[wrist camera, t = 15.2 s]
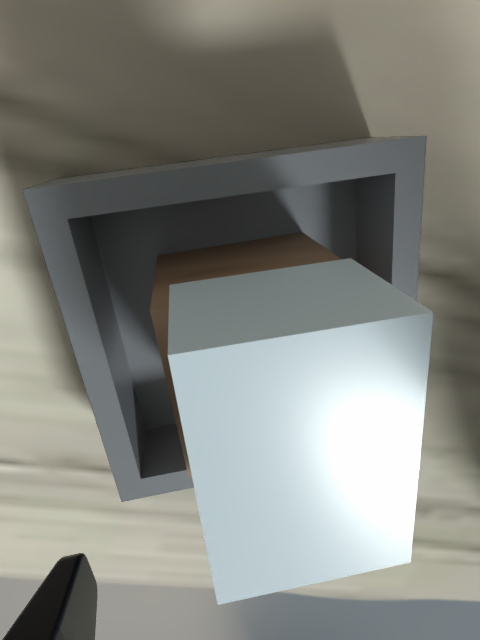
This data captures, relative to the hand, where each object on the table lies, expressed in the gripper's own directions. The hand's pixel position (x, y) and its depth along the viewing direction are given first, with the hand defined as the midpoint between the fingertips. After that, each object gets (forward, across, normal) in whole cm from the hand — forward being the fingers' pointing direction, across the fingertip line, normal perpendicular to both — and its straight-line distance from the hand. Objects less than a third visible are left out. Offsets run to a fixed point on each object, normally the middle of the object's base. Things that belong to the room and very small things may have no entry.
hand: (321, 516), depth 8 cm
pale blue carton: (+5, 0, 0) cm, 5 cm away
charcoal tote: (+12, 0, 0) cm, 12 cm away
